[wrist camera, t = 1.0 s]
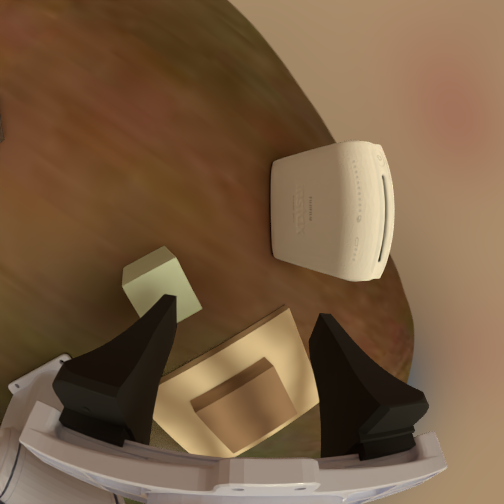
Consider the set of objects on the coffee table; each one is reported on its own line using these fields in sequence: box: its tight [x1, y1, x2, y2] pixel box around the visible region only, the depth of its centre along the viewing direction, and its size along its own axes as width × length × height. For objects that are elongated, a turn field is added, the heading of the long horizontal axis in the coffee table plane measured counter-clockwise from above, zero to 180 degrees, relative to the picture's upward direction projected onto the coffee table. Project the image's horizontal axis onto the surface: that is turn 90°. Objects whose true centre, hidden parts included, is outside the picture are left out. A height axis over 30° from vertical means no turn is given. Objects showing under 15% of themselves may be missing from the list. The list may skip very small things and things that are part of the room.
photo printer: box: [271, 140, 394, 281], centre depth 21 cm, size 10×4×12 cm, turn 1°
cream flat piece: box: [153, 305, 319, 458], centre depth 27 cm, size 18×16×3 cm
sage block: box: [122, 246, 202, 323], centre depth 20 cm, size 4×4×6 cm
